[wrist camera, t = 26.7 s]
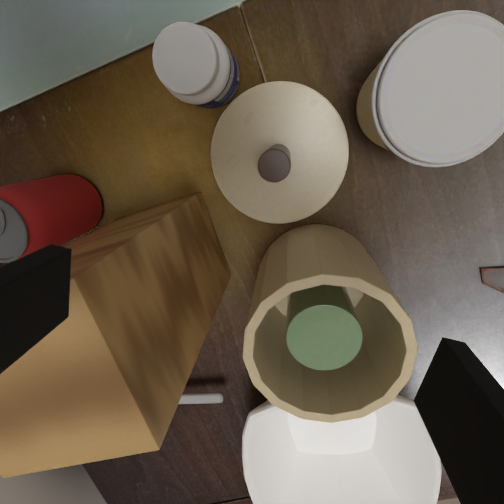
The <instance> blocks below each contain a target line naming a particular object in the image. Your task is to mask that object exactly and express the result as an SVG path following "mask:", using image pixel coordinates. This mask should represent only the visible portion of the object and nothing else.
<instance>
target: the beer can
mask: <svg viewBox="0 0 504 504" xmlns="http://www.w3.org/2000/svg"><path fill="white" fill-rule="evenodd" d="M101 214H102V203H101V198H100V196H99V194H98V192H97V190H96V189H95V188H94V187H93V185H92V184H91V183H90V182H88V181H87V180H85V179H84V178H82V177H79V176H76V175H73V174H63V175H58V176H53V177H47V178H42V179H37V180H32V181H26V182H21V183H16V184H11V185H5V186H0V263H9V262H12V261H16V260H18V259H20V258H22V257H24V256H26V255H28V254H31V253H33V252H35V251H37V250H39V249H41V248H43V247H45V246H47V245H50V244H53V245H57V246H60V245H62V244H64V243H66V242H68V241H70V240H72V239H74V238H76V237H78V236H80V235H82V234H84V233H86V232H88V231H90V230H91V229H93V228H94V227H95V226H96V225H97V224H98V222H99V220H100V218H101Z"/></svg>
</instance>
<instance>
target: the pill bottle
mask: <svg viewBox="0 0 504 504" xmlns="http://www.w3.org/2000/svg"><path fill="white" fill-rule="evenodd" d="M152 60H153V66H154V69H155V72H156V74H157V76H158V78H159V79H160V81H161V82H162V83H163V84H164V85H165V86H166V88H167V89H168V90H169V92H170V93H171V94H172V95H174V96H175V97H176V98H178V99H179V100H181V101H183V102H185V103H188V104H192V105H196V106H200V107H204V108H218V107H221V106H223V105H225V104H227V103H228V102H229V101H230V100H231V99H232V98H233V97H234V96H235V94H236V92H237V90H238V87H239V83H240V70H239V66H238V63H237V61H236V59H235V57H234V55H233V54H232V53H231V51H230V50H229V49H228V48H227V46H226V45H225V44H224V42H223V41H222V39H221V38H220V37H219V36H218V35H217V34H216V33H214V32H213V31H212V30H210V29H208V28H206V27H204V26H201V25H196V24H194V23H191V22H185V21H180V22H175V23H172V24H170V25H168V26H166V27H165V28H164V29H163V30H162V31H161V32H160V33H159V35H158V36H157V38H156V40H155V43H154V46H153V52H152Z"/></svg>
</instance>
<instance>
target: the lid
mask: <svg viewBox="0 0 504 504" xmlns="http://www.w3.org/2000/svg"><path fill="white" fill-rule="evenodd" d="M210 152H211V165H212V171H213V174H214V178H215V180H216V182H217V185H218V187H219V188H220V190H221V192H222V194H223V195H224V196H225V198H226V199H227V200H228V201H229V202H230V203H231V204H232V205H233V206H234V207H235V208H236V209H237V210H239V211H240V212H242V213H243V214H245V215H247V216H248V217H251V218H253V219H255V220H258V221H262V222H266V223H275V224H282V223H291V222H295V221H299V220H301V219H304V218H307V217H309V216H311V215H312V214H314V213H316V212H317V211H319V210H320V209H321V208H322V207H324V206H325V205H326V204H327V203H328V202H329V201H330V200H331V198H332V197H333V196H334V195H335V193H336V192H337V190H338V189H339V187H340V185H341V183H342V181H343V179H344V176H345V173H346V169H347V165H348V157H349V143H348V137H347V133H346V129H345V126H344V124H343V121H342V119H341V117H340V115H339V114H338V112H337V111H336V109H335V108H334V106H333V105H332V104H331V103H330V102H329V101H328V100H327V99H326V98H325V97H324V96H323V95H321V94H320V93H318V92H317V91H315V90H314V89H312V88H310V87H308V86H305V85H303V84H299V83H296V82H290V81H272V82H266V83H263V84H259V85H256V86H254V87H252V88H250V89H248V90H246V91H245V92H243V93H241V94H240V95H239V96H238V97H236V98H235V99H234V100H233V101H232V102H231V103H230V104H229V105H228V106H227V107H226V109H225V110H224V112H223V113H222V115H221V116H220V118H219V120H218V122H217V124H216V127H215V130H214V132H213V137H212V141H211V151H210Z"/></svg>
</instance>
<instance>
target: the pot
mask: <svg viewBox="0 0 504 504" xmlns="http://www.w3.org/2000/svg"><path fill="white" fill-rule="evenodd" d="M323 284H324V285H333V286H343V287H346V288H347V291H348V293H349V296H350V299H351V302H352V304H353V307H354V310H355V313H356V316H357V318H358V321H359V324H360V327H361V330H362V336H363V339H362V345H361V348H360V350H359V352H358V354H357V355H356V356H355V358H354V359H353V360H352V361H350V362H349V363H348V364H346V365H344V366H342V367H340V368H337V369H333V370H316V369H312V368H309V367H306V366H304V365H303V364H301V363H300V362H298V361H297V360H296V359H295V358H294V357H293V356H292V354H291V353H290V351H289V349H288V346H287V342H286V314H287V296H288V295H289V294H291V293H292V292H295V291H299V290H303V289H307V288H311V287H315V286H319V285H323ZM417 351H418V347H417V342H416V338H415V333H414V329H413V324H412V320H411V318H410V317H409V315H408V314H407V312H406V310H405V309H404V307H403V306H402V304H401V303H400V301H399V300H398V298H397V296H396V295H395V293H394V292H393V290H392V289H391V287H390V286H389V284H388V283H387V281H386V279H385V278H384V276H383V275H382V273H381V272H380V270H379V269H378V267H377V265H376V264H375V262H374V261H373V259H372V258H371V256H370V255H369V253H368V252H367V251H366V250H365V248H364V247H363V246H362V244H361V243H360V242H359V241H358V240H357V238H356V237H354V236H352V235H351V234H349V233H347V232H346V231H344V230H342V229H339V228H337V227H334V226H330V225H324V224H310V225H304V226H299V227H297V228H294V229H291V230H289V231H287V232H285V233H284V234H282V235H281V236H280V237H278V238H277V239H276V240H275V241H274V242H273V243H272V244H271V245H270V246H269V248H268V249H267V251H266V253H265V254H264V257H263V259H262V261H261V262H260V265H259V269H258V274H257V278H256V282H255V287H254V291H253V296H252V300H251V304H250V309H249V313H248V318H247V322H246V326H245V332H244V345H243V360H244V363H245V365H246V368H247V370H248V373H249V376H250V378H251V381H252V383H253V385H254V386H255V387H256V388H257V389H258V390H259V391H260V392H261V393H262V394H263V395H264V396H265V397H266V398H267V399H268V401H269V402H270V403H271V404H272V405H274V406H276V407H278V408H280V409H282V410H284V411H286V412H288V413H290V414H292V415H294V416H296V417H298V418H301V419H306V420H313V421H321V422H328V423H334V422H340V421H345V420H351V419H357V418H362V417H365V416H367V415H369V414H370V413H372V412H374V411H376V410H378V409H379V408H381V407H383V406H385V405H387V404H389V403H390V402H392V401H393V399H394V398H395V397H396V396H397V395H398V393H399V392H400V391H401V390H402V388H403V387H404V386H405V385H406V384H407V382H408V381H409V380H410V378H411V374H412V370H413V367H414V363H415V359H416V355H417Z"/></svg>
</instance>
